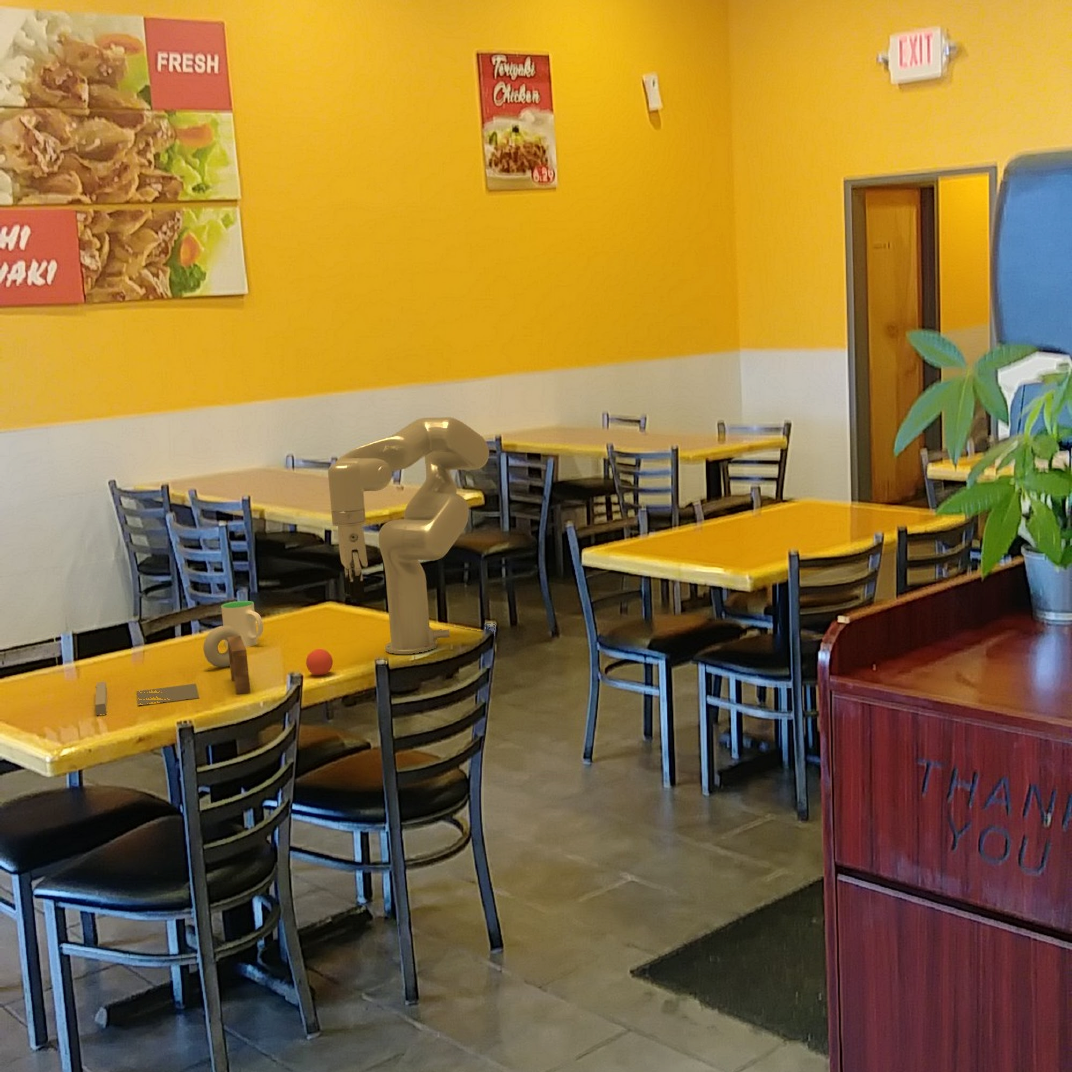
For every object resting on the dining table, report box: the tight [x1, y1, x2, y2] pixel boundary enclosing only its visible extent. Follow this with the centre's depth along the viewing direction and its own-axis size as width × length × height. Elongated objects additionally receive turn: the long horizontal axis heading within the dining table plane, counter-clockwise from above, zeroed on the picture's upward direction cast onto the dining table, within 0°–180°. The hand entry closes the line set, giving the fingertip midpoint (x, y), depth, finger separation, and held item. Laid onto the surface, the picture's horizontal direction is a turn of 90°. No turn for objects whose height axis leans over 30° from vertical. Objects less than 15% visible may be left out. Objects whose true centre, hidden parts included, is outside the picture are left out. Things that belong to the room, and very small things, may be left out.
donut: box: [203, 625, 240, 668], centre depth 335 cm, size 10×3×10 cm, turn 133°
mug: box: [220, 600, 264, 648], centre depth 357 cm, size 12×8×10 cm
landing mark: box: [136, 683, 200, 706], centre depth 313 cm, size 13×13×1 cm
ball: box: [305, 648, 334, 676], centre depth 322 cm, size 6×6×6 cm
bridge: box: [227, 636, 251, 695], centre depth 316 cm, size 3×15×10 cm, turn 16°
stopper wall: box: [94, 681, 108, 716], centre depth 309 cm, size 2×20×2 cm, turn 16°
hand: (355, 595), depth 322 cm, fingers open, 5 cm apart
